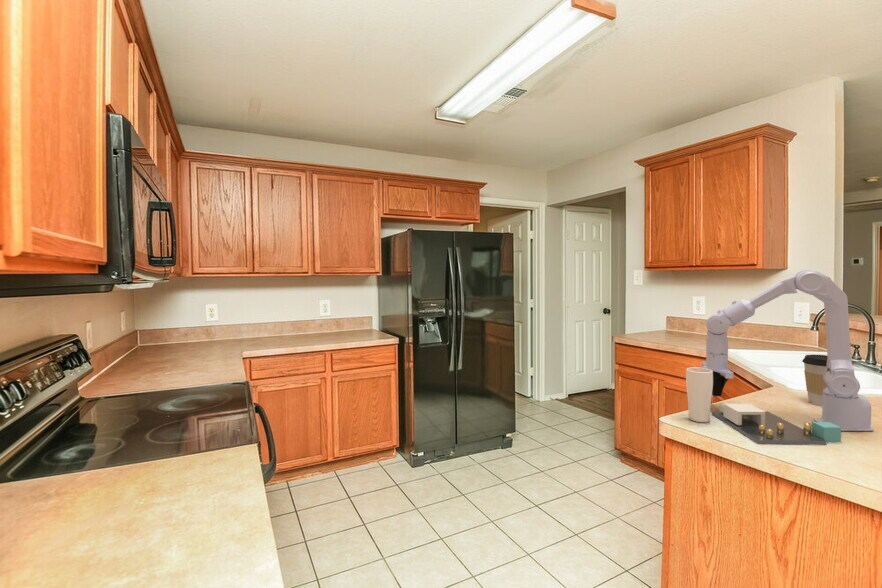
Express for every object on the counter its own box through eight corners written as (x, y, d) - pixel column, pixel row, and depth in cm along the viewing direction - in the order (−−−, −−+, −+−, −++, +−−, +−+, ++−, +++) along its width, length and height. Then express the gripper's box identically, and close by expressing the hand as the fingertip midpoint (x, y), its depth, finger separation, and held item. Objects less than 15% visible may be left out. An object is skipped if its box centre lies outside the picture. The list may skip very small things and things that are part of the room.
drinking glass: (716, 424, 121) (717, 372, 120) (690, 423, 123) (691, 372, 122) (707, 416, 128) (707, 367, 127) (682, 415, 129) (682, 366, 128)
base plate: (767, 414, 128) (767, 403, 128) (826, 444, 106) (826, 431, 106) (711, 414, 130) (711, 403, 129) (757, 443, 108) (758, 430, 108)
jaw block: (828, 436, 111) (828, 421, 111) (840, 443, 107) (841, 427, 107) (811, 436, 112) (811, 421, 111) (823, 442, 108) (824, 427, 107)
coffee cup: (838, 401, 138) (839, 355, 137) (846, 410, 130) (847, 361, 129) (798, 397, 144) (799, 353, 143) (804, 405, 135) (805, 358, 134)
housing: (738, 410, 128) (738, 398, 128) (764, 425, 116) (765, 411, 116) (714, 410, 129) (714, 398, 129) (737, 425, 117) (737, 411, 117)
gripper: (692, 348, 141) (691, 388, 142) (716, 357, 126) (715, 402, 127) (714, 348, 140) (714, 388, 141) (741, 357, 126) (740, 402, 127)
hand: (716, 395), depth 134 cm, fingers closed
